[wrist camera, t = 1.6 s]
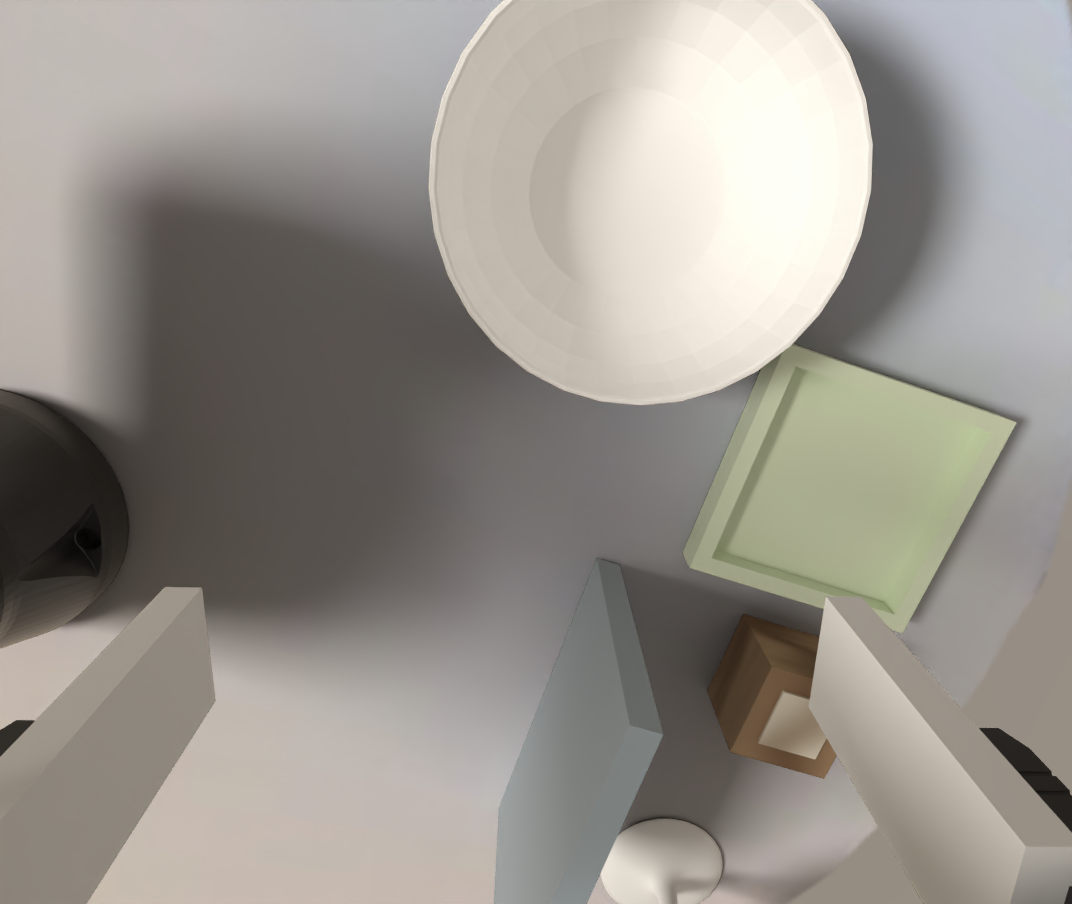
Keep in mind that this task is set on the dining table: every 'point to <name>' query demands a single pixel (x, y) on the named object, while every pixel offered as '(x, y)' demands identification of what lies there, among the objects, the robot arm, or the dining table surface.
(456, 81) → the bowl
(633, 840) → the wineglass
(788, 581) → the tray
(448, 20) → the dining table surface
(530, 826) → the screen
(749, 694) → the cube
